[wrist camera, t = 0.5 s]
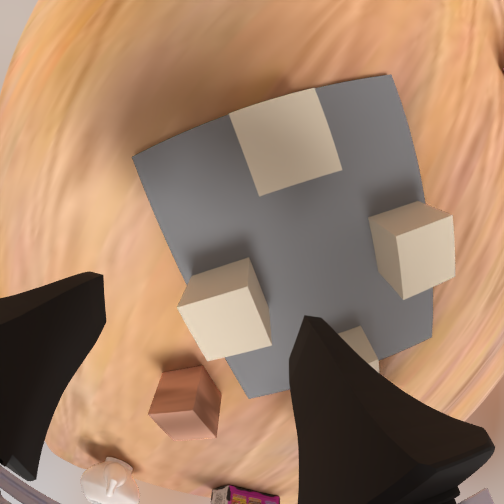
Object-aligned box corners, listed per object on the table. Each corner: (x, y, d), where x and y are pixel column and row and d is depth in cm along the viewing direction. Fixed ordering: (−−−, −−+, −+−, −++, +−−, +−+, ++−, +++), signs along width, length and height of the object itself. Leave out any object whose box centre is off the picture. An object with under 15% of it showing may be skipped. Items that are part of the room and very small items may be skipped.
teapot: (159, 457, 29) (146, 511, 20) (137, 486, 35) (127, 523, 26) (94, 428, 27) (72, 480, 18) (90, 466, 33) (77, 501, 25)
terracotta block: (221, 394, 23) (216, 437, 18) (183, 400, 24) (173, 440, 19) (202, 364, 22) (192, 410, 17) (162, 372, 22) (147, 414, 18)
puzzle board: (428, 333, 21) (452, 364, 16) (248, 394, 23) (247, 434, 19) (387, 76, 14) (422, 59, 10) (135, 156, 16) (99, 160, 12)
